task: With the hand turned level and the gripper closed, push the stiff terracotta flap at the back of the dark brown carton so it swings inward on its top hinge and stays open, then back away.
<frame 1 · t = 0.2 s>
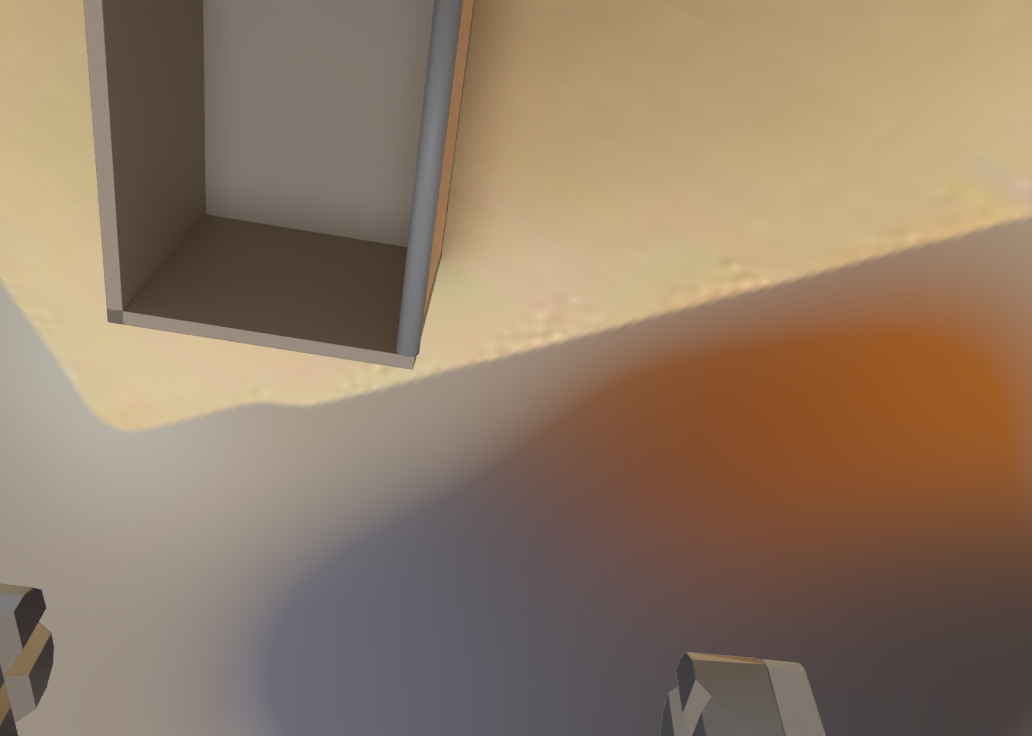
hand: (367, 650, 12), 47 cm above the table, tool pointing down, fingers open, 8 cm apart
open carton: (329, 62, 55), on the table
flap: (443, 122, 48), point 8 cm above the table, hinge at 0.0°
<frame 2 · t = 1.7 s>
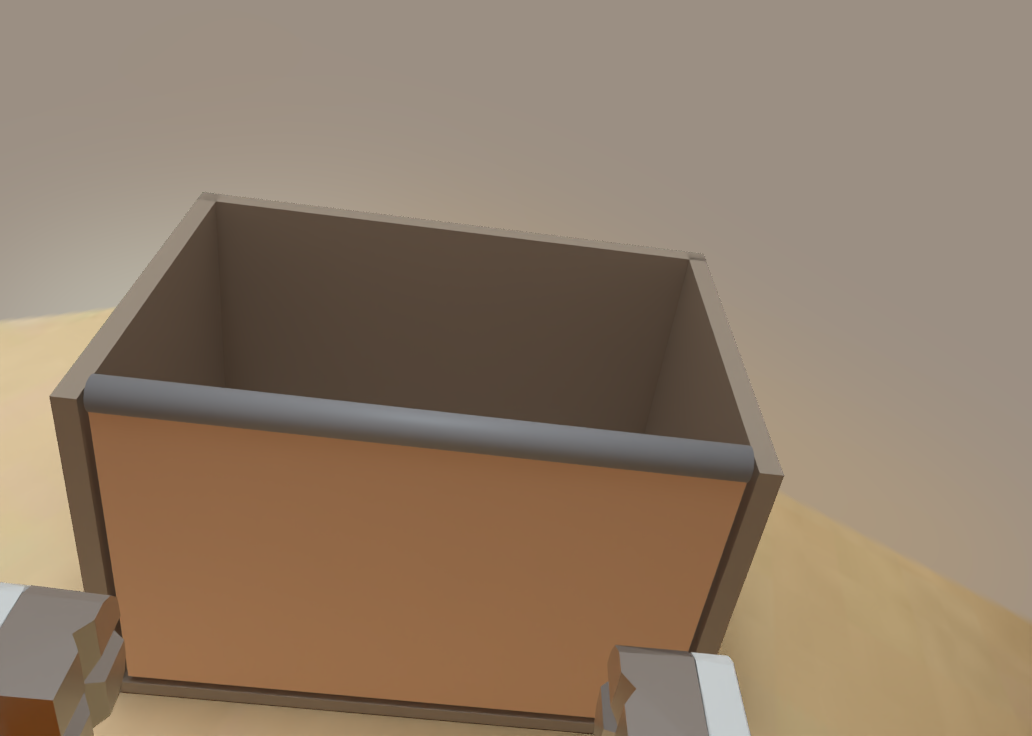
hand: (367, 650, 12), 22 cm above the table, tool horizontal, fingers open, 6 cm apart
open carton: (418, 568, 43), on the table
flap: (413, 568, 33), point 8 cm above the table, hinge at 0.0°
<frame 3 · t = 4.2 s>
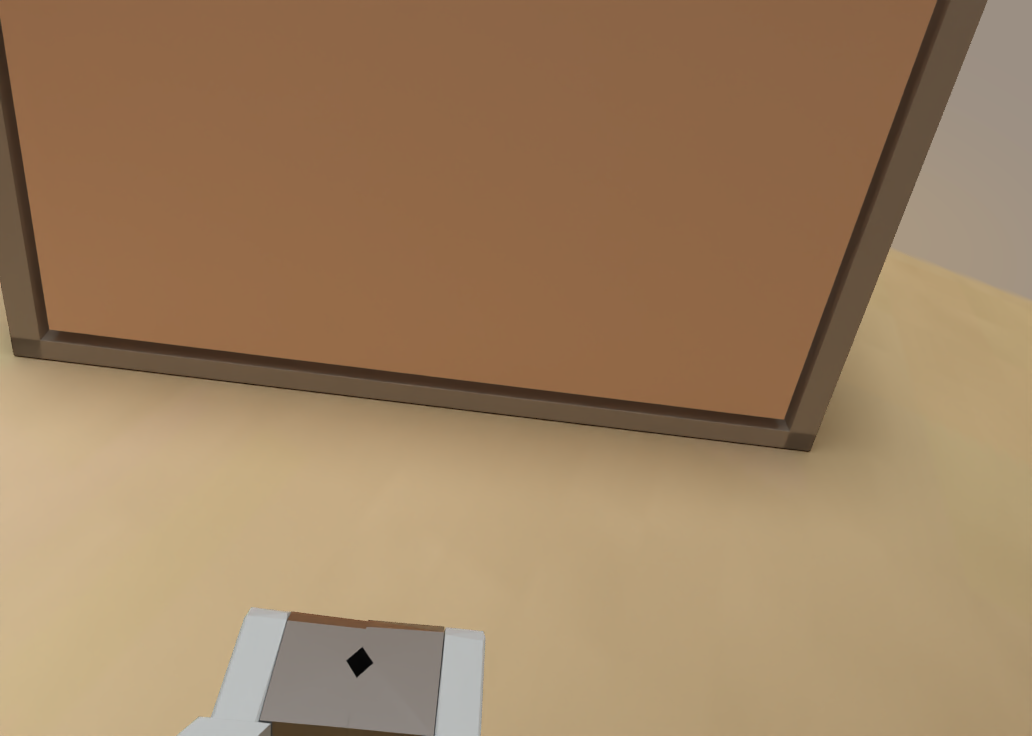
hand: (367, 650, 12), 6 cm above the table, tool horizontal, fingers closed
open carton: (444, 276, 33), on the table
flap: (450, 138, 23), point 8 cm above the table, hinge at 0.0°
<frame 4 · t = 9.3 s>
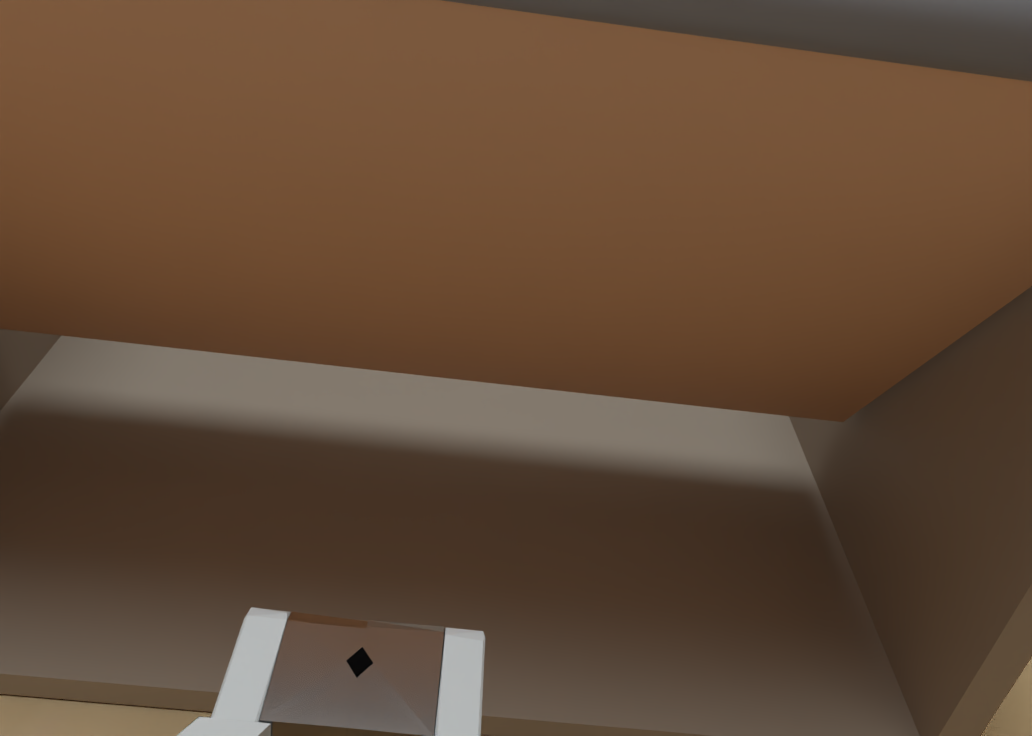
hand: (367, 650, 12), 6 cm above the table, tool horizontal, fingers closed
open carton: (422, 465, 25), on the table
flap: (439, 219, 16), point 9 cm above the table, hinge at 35.3°
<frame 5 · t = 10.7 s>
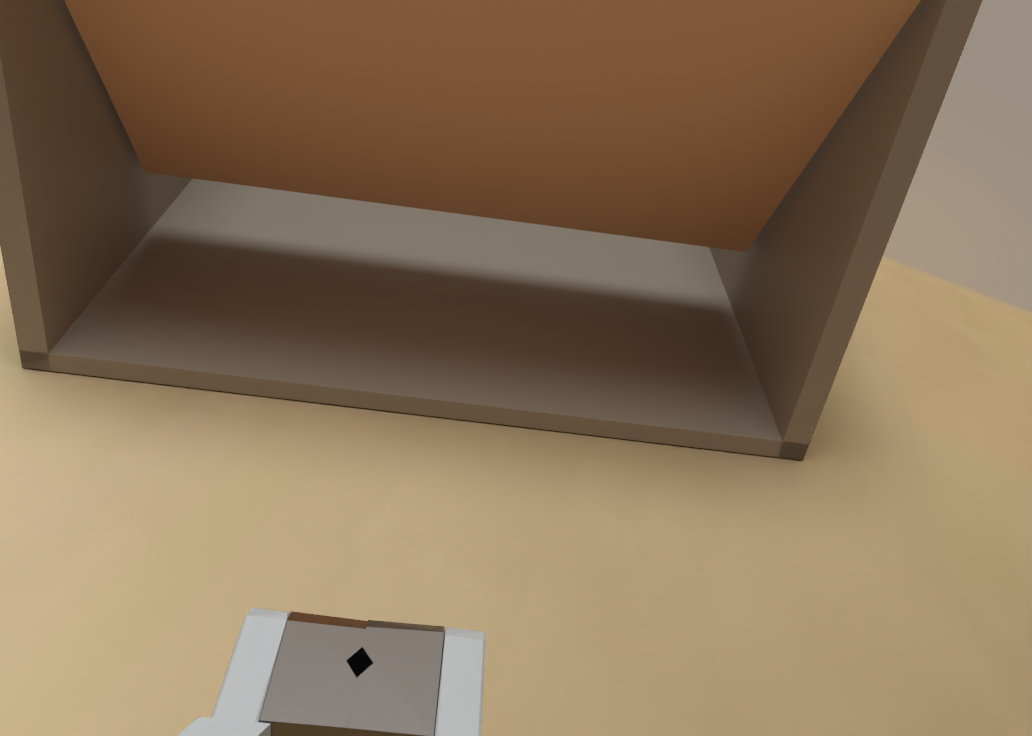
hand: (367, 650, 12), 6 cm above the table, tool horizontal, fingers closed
open carton: (444, 287, 34), on the table
flap: (463, 73, 26), point 9 cm above the table, hinge at 35.3°
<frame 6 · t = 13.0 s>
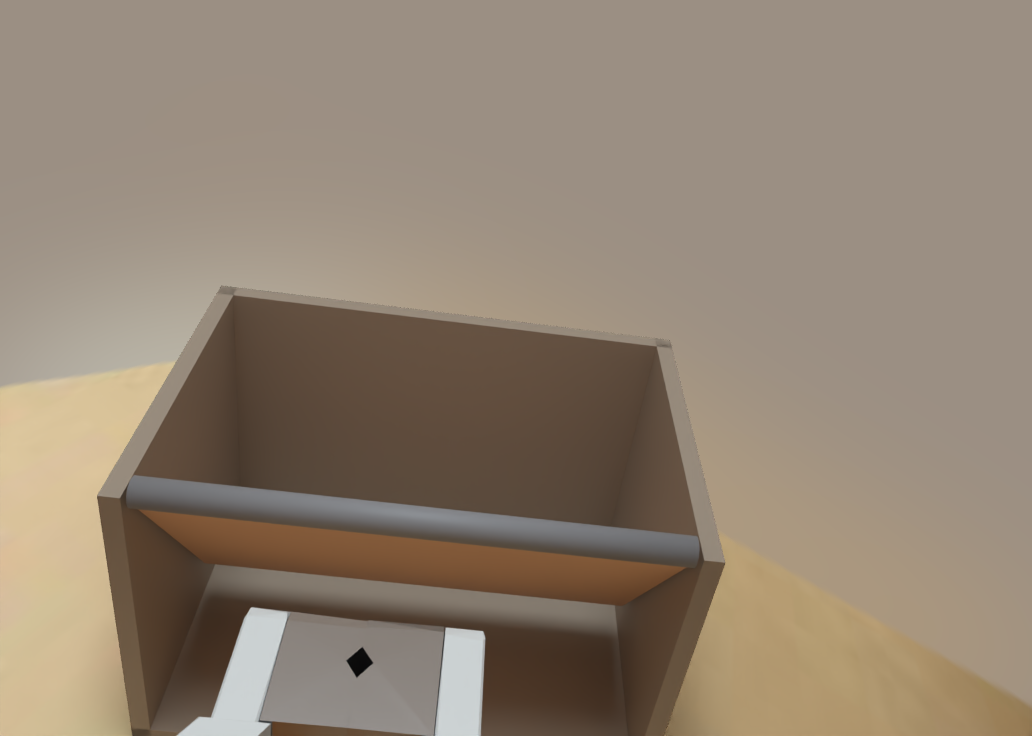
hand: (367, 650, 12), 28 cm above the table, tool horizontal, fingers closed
open carton: (412, 621, 48), on the table
flap: (418, 552, 40), point 9 cm above the table, hinge at 35.3°
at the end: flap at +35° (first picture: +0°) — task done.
